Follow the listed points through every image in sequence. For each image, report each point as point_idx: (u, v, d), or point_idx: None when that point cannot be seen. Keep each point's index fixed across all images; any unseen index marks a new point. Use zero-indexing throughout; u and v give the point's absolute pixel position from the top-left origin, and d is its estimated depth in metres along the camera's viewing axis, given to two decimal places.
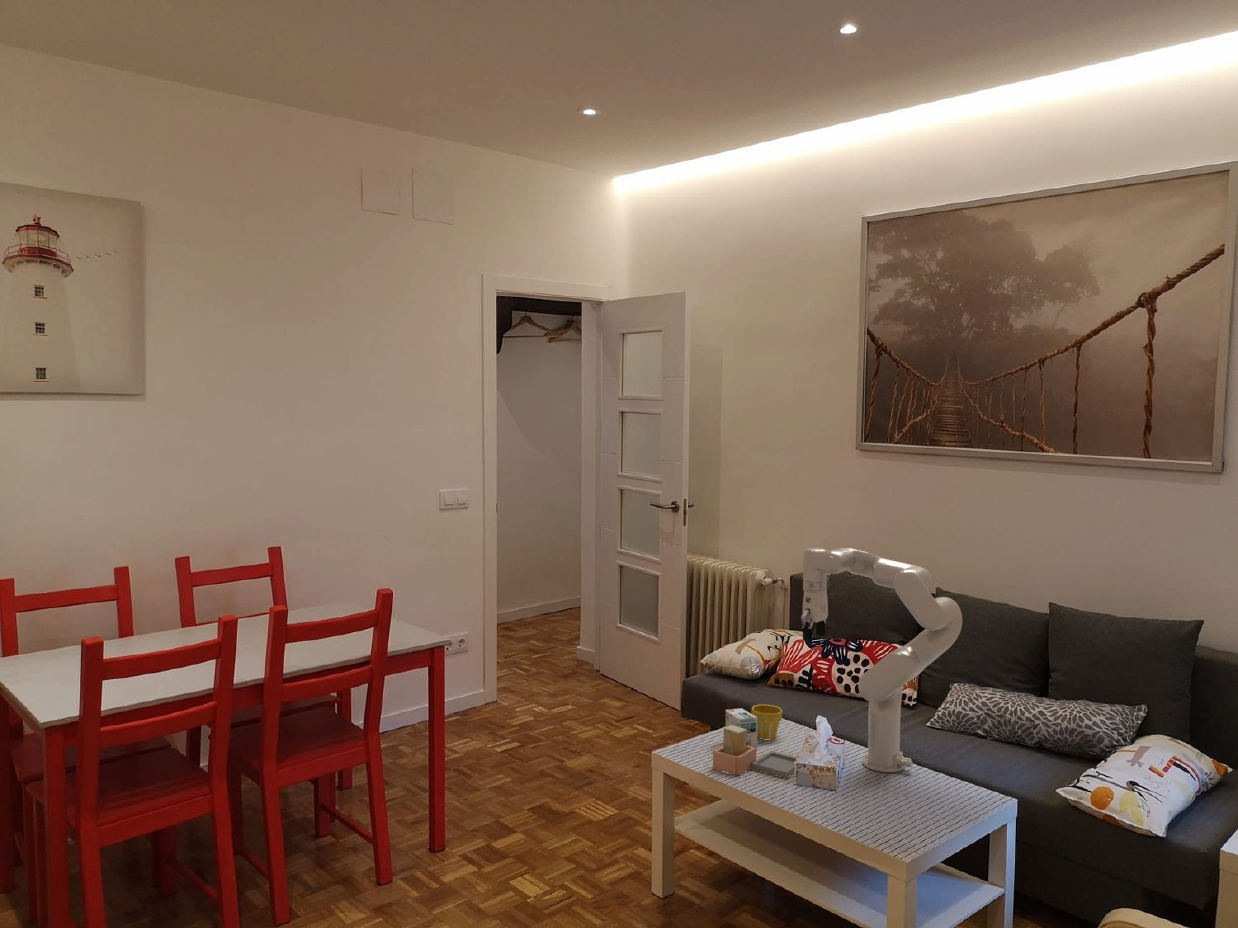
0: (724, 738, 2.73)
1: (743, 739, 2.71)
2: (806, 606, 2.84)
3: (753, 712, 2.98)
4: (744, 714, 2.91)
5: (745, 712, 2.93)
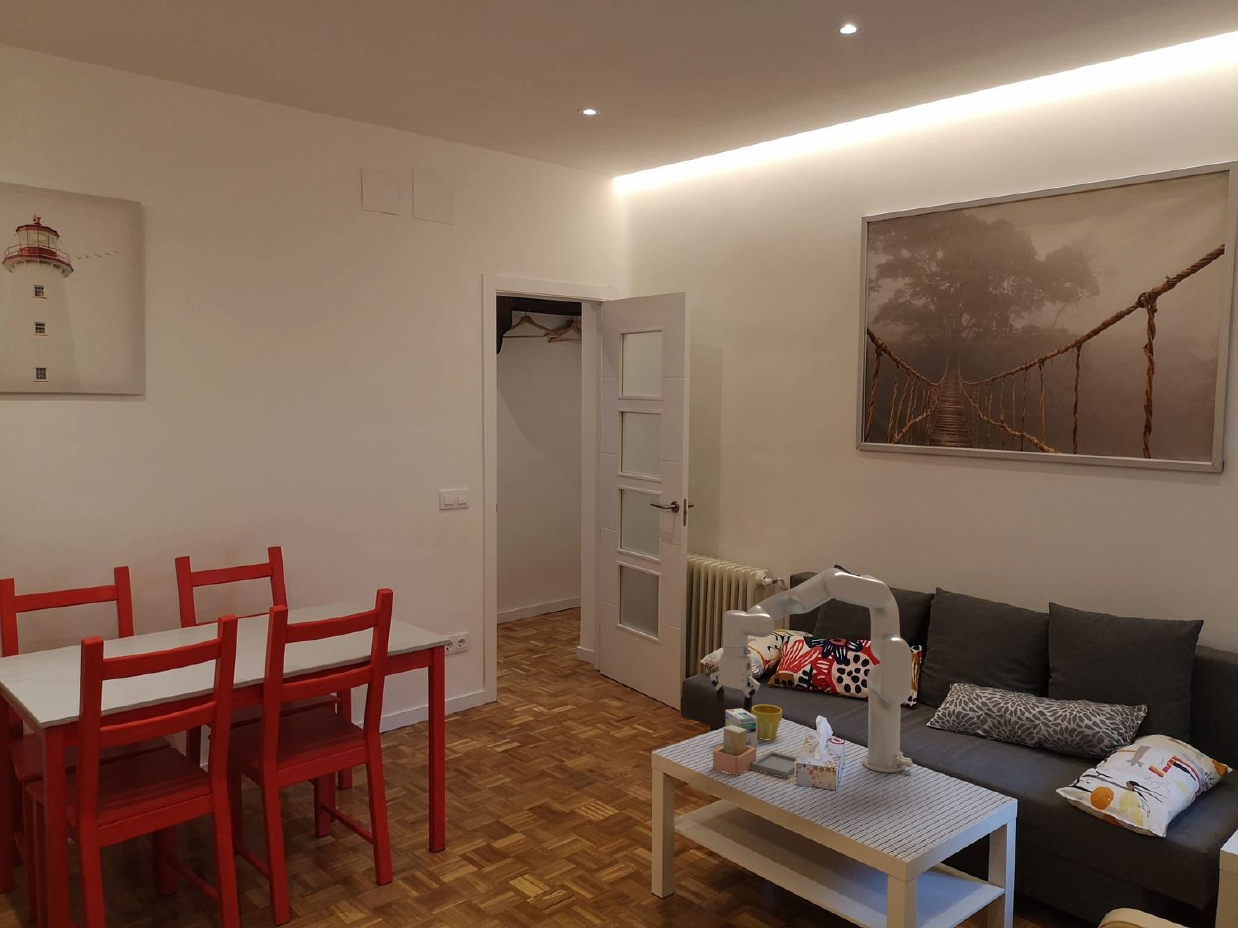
0: (724, 738, 2.73)
1: (743, 739, 2.71)
2: (748, 673, 2.69)
3: (753, 712, 2.98)
4: (744, 714, 2.91)
5: (745, 712, 2.93)
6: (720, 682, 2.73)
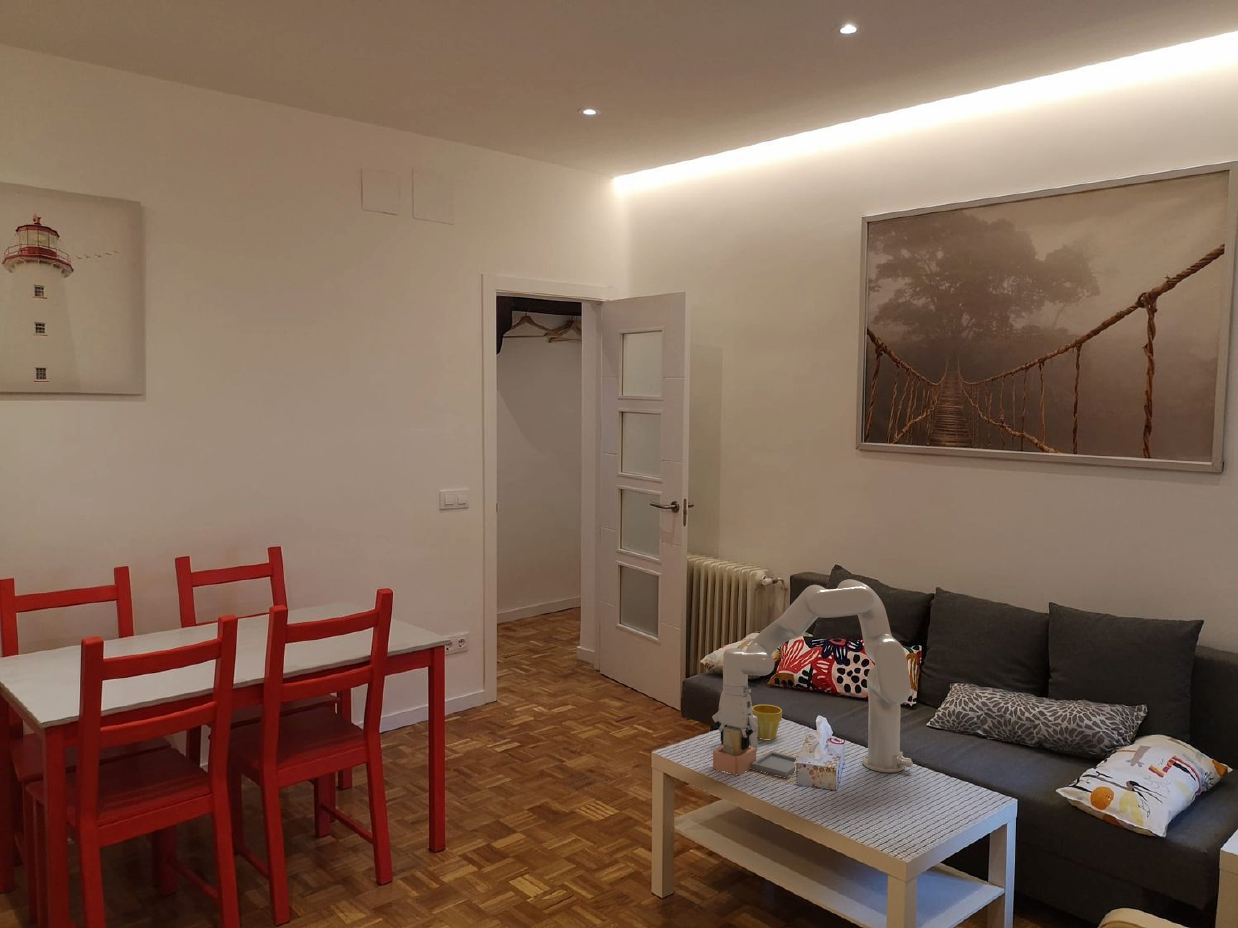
0: (724, 738, 2.73)
1: None
2: (748, 711, 2.69)
3: (753, 712, 2.98)
4: None
5: None
6: (721, 720, 2.74)
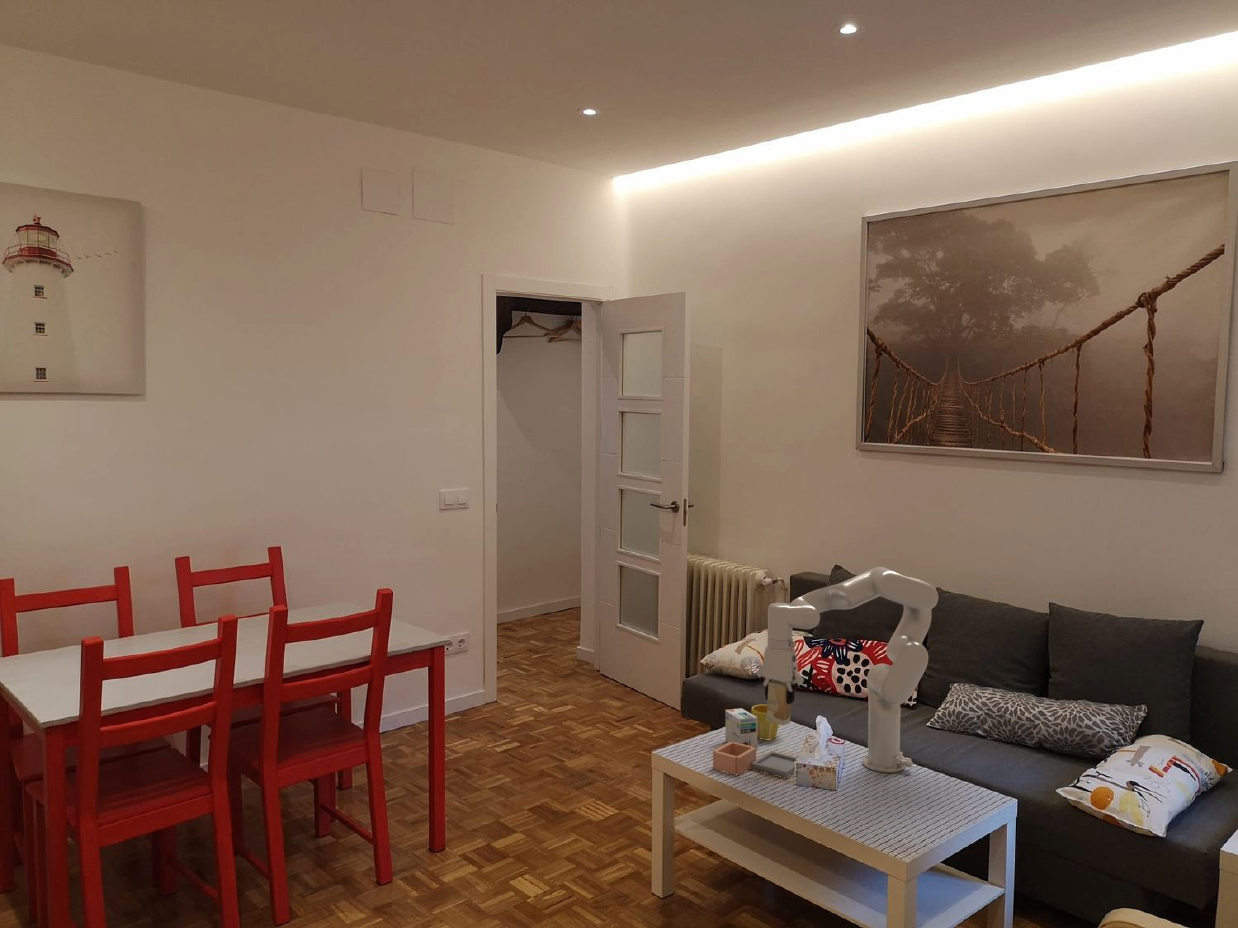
0: (769, 693, 2.72)
1: None
2: (793, 665, 2.68)
3: (753, 712, 2.98)
4: (744, 714, 2.91)
5: (745, 712, 2.93)
6: (765, 675, 2.73)
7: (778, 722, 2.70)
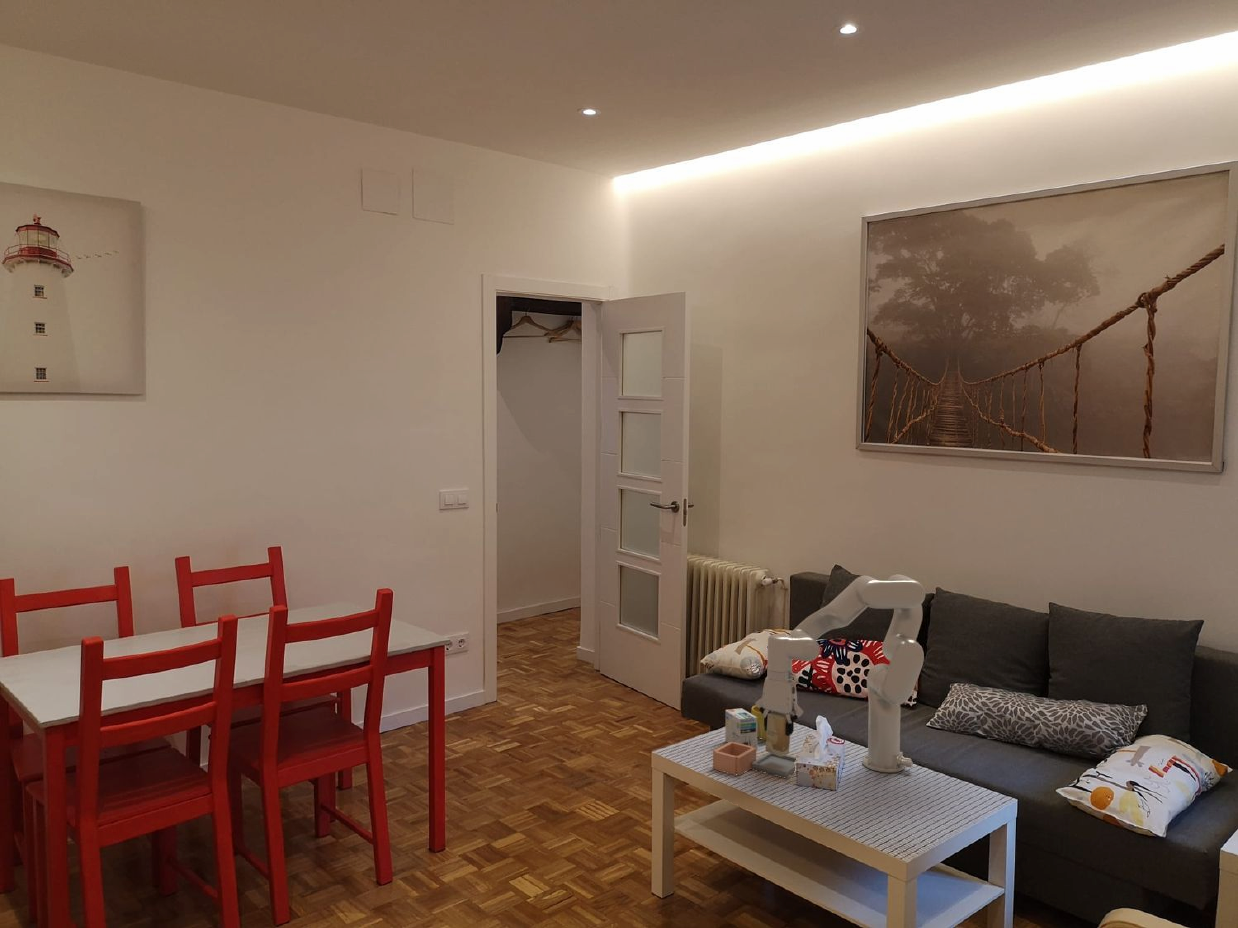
0: (768, 724, 2.73)
1: None
2: (793, 697, 2.69)
3: (753, 712, 2.98)
4: (744, 714, 2.91)
5: (745, 712, 2.93)
6: (764, 706, 2.73)
7: (777, 753, 2.71)
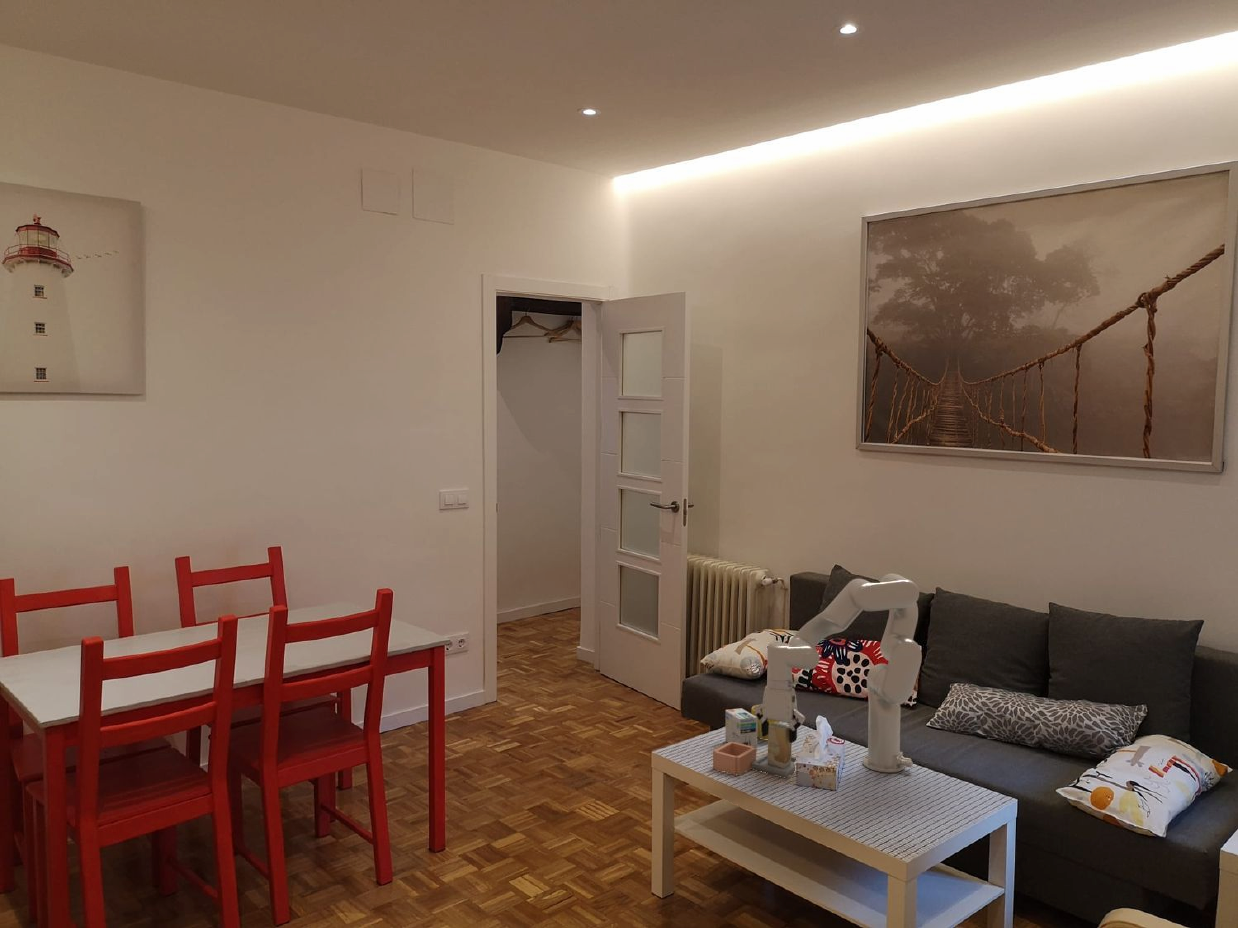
0: (769, 735, 2.73)
1: None
2: (793, 706, 2.69)
3: (753, 712, 2.98)
4: (744, 714, 2.91)
5: (745, 712, 2.93)
6: (765, 715, 2.73)
7: (779, 765, 2.71)
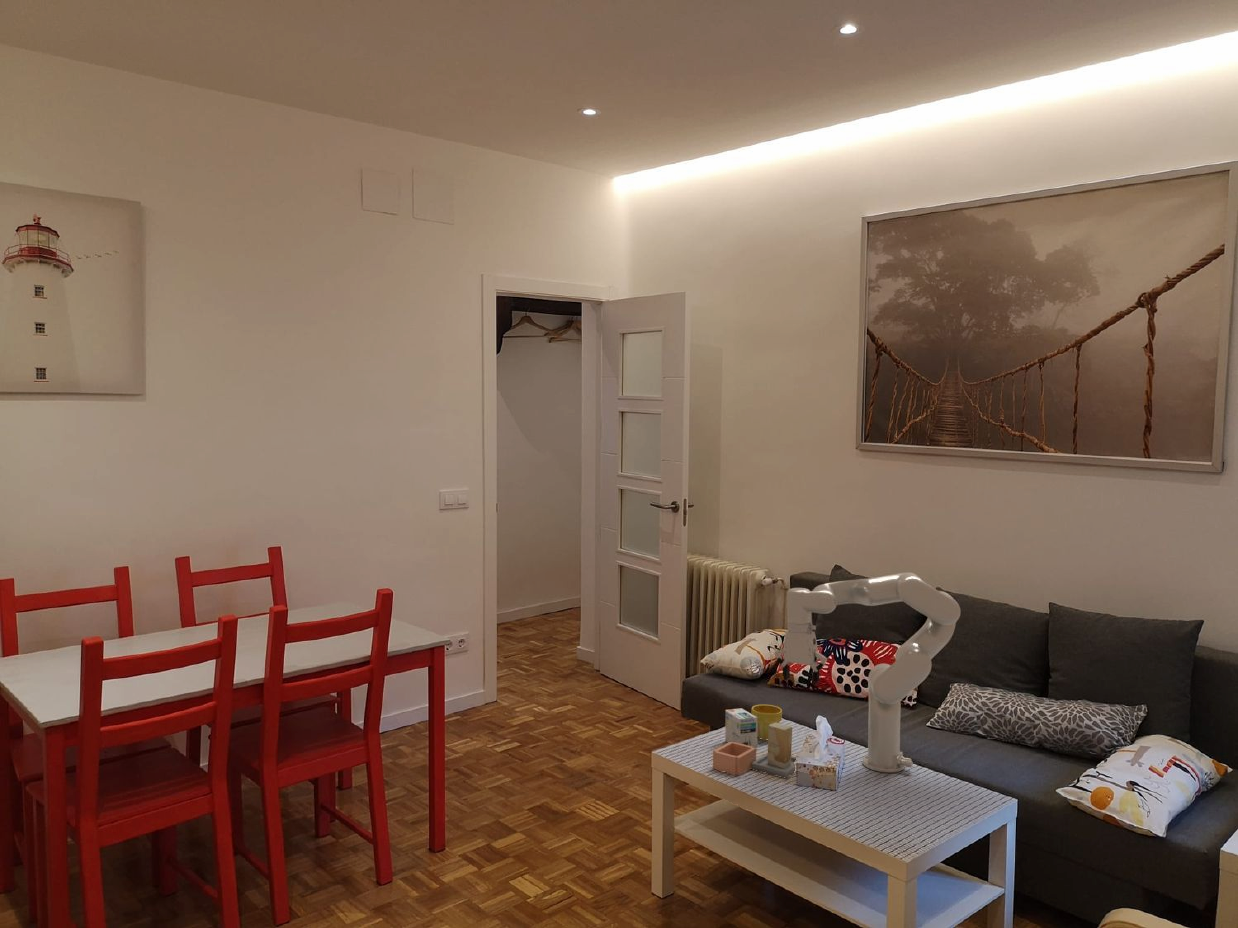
0: (769, 735, 2.73)
1: (789, 736, 2.71)
2: (814, 648, 2.75)
3: (753, 712, 2.98)
4: (744, 714, 2.91)
5: (745, 712, 2.93)
6: (786, 659, 2.79)
7: (779, 765, 2.71)
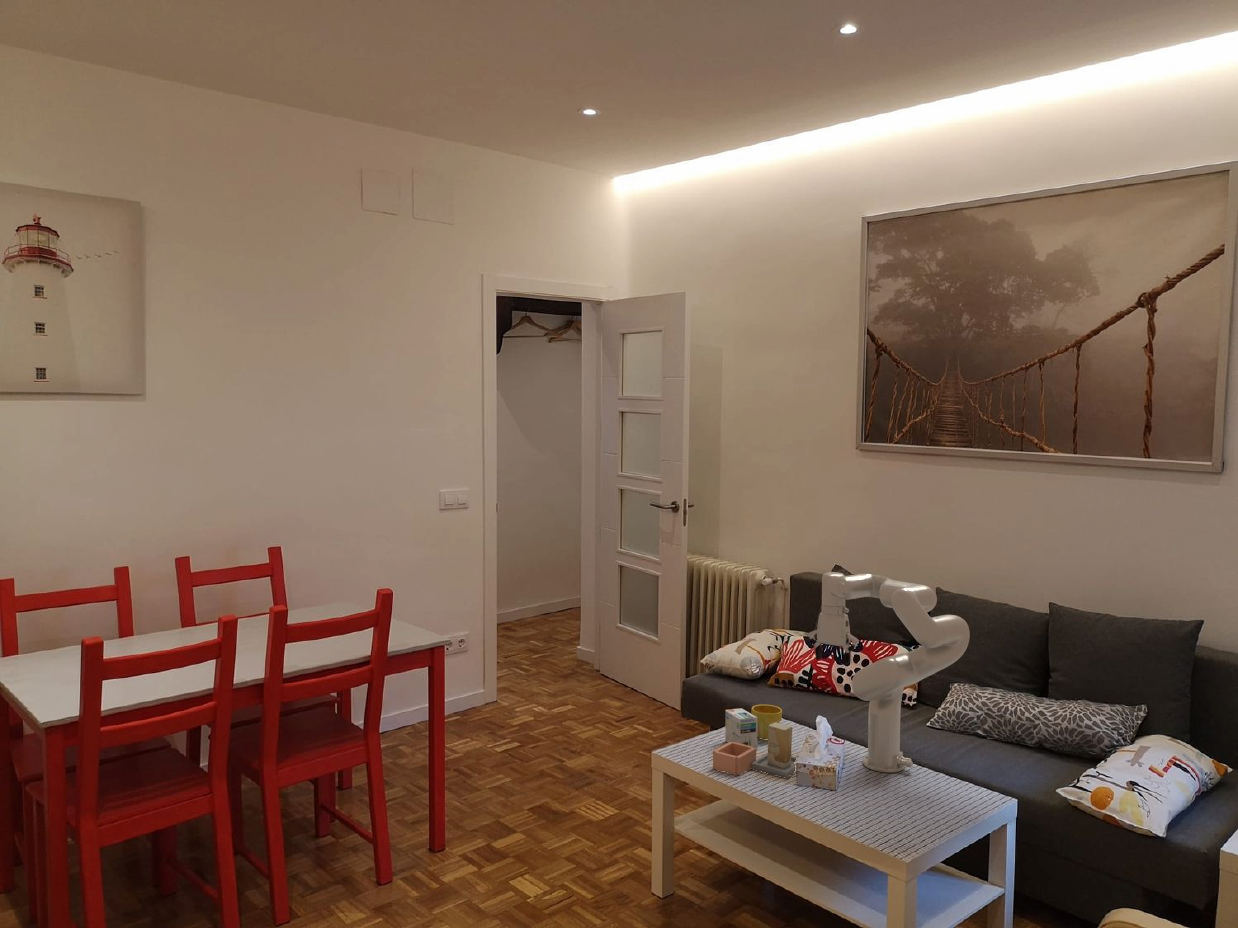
0: (769, 735, 2.73)
1: (789, 736, 2.71)
2: (846, 630, 2.87)
3: (753, 712, 2.98)
4: (744, 714, 2.91)
5: (745, 712, 2.93)
6: (819, 639, 2.91)
7: (779, 765, 2.71)
